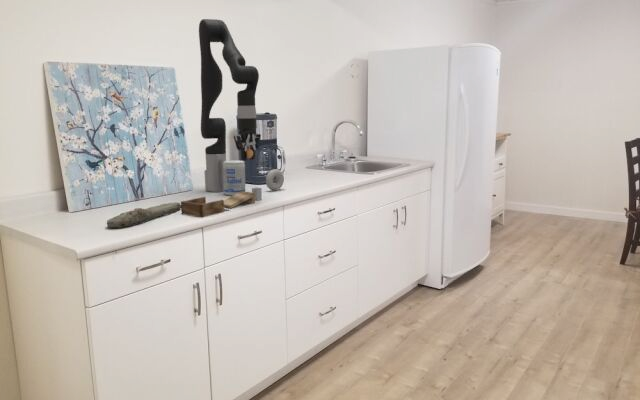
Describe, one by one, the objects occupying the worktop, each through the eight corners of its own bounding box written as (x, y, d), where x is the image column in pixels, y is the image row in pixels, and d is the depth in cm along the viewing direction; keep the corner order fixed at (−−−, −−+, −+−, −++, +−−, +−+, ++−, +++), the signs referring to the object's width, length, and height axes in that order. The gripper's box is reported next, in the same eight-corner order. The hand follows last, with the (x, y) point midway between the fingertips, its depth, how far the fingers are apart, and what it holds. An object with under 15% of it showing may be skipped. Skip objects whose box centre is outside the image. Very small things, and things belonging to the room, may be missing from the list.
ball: (241, 158, 207) (241, 148, 206) (245, 157, 211) (245, 147, 210) (250, 158, 206) (250, 148, 205) (254, 157, 210) (254, 148, 209)
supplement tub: (227, 196, 223) (225, 163, 220) (221, 193, 231) (220, 160, 228) (248, 195, 227) (247, 161, 224) (242, 191, 235) (241, 159, 232)
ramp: (242, 200, 214) (242, 191, 213) (254, 202, 210) (254, 192, 209) (217, 206, 203) (217, 196, 202) (230, 208, 199) (229, 198, 198)
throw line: (210, 206, 202) (210, 206, 202) (229, 210, 196) (229, 209, 196) (206, 207, 201) (206, 207, 201) (226, 211, 194) (226, 210, 194)
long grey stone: (189, 213, 199) (168, 212, 202) (188, 199, 198) (167, 199, 202) (122, 229, 167) (99, 228, 170) (121, 213, 166) (98, 213, 170)
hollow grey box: (256, 198, 218) (256, 187, 217) (261, 199, 216) (261, 187, 215) (252, 199, 215) (251, 188, 214) (257, 200, 214) (256, 188, 213)
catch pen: (204, 208, 200) (203, 196, 199) (223, 211, 193) (223, 200, 193) (181, 213, 191) (180, 201, 190) (201, 217, 185) (200, 204, 184)
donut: (269, 192, 232) (268, 170, 230) (264, 191, 235) (263, 169, 233) (285, 189, 239) (285, 168, 237) (280, 188, 242) (280, 167, 240)
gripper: (241, 117, 197) (243, 162, 200) (265, 116, 209) (266, 158, 212) (227, 117, 201) (229, 161, 205) (251, 116, 213) (253, 157, 216)
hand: (248, 159), depth 208 cm, fingers closed on ball, 4 cm apart
